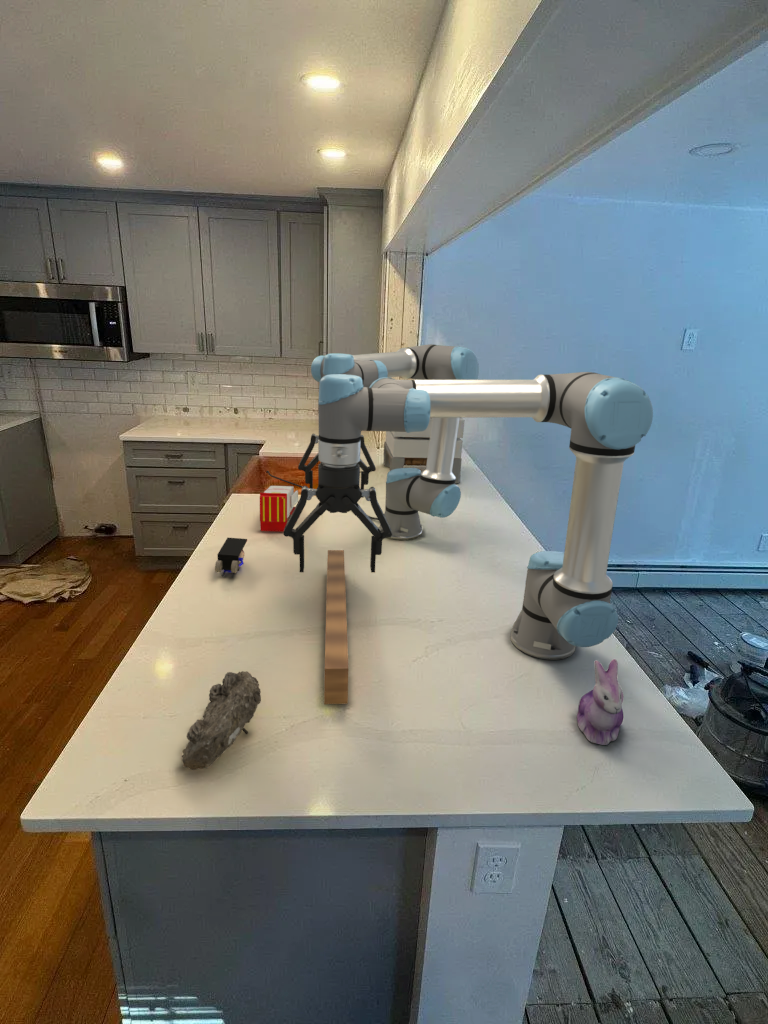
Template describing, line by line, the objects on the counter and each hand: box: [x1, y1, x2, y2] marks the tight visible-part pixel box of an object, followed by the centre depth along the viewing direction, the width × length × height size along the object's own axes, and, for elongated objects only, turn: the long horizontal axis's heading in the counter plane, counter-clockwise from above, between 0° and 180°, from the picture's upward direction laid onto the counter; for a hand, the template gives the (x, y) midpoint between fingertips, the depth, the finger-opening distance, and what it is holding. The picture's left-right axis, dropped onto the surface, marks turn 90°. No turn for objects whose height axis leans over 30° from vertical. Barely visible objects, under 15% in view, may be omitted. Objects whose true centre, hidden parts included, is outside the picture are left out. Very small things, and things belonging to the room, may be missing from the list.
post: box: [323, 549, 350, 705], centre depth 138 cm, size 57×5×8 cm, turn 5°
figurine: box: [576, 658, 625, 746], centre depth 107 cm, size 9×10×15 cm
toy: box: [259, 485, 299, 533], centre depth 208 cm, size 12×13×30 cm
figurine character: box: [214, 537, 248, 578], centre depth 166 cm, size 7×8×15 cm
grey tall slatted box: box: [383, 418, 465, 484], centre depth 268 cm, size 34×33×41 cm
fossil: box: [181, 670, 262, 771], centre depth 103 cm, size 22×10×15 cm
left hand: (336, 495), depth 152 cm, fingers open, 13 cm apart
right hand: (337, 569), depth 109 cm, fingers open, 13 cm apart
